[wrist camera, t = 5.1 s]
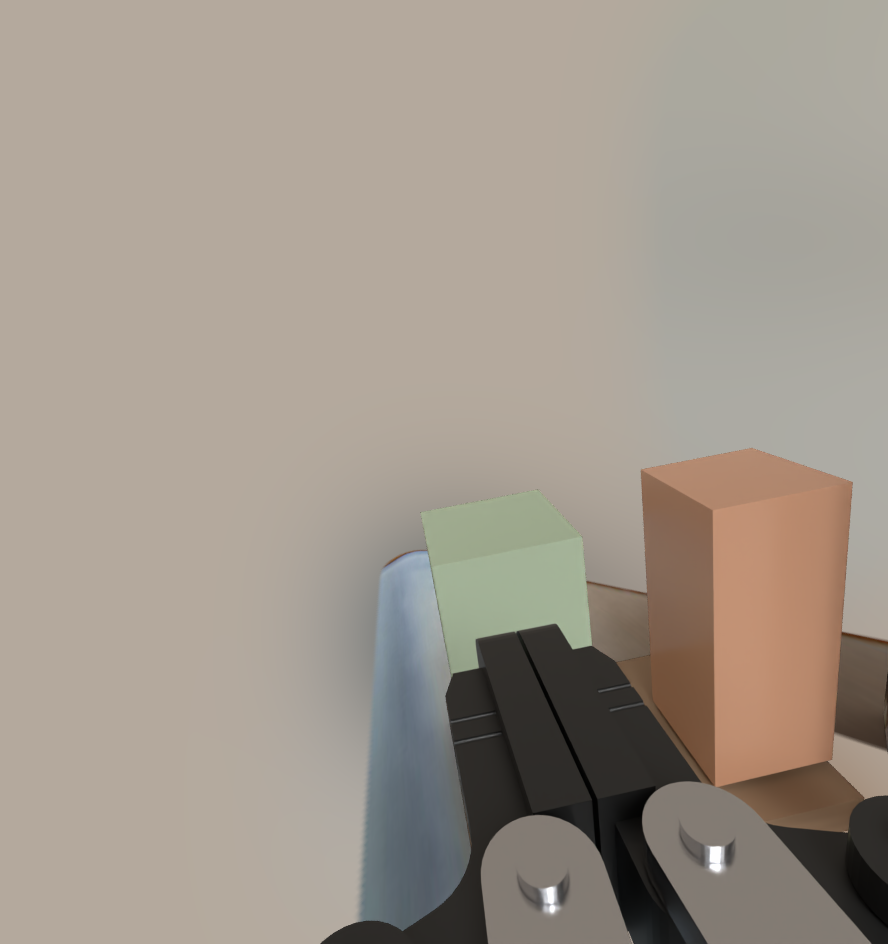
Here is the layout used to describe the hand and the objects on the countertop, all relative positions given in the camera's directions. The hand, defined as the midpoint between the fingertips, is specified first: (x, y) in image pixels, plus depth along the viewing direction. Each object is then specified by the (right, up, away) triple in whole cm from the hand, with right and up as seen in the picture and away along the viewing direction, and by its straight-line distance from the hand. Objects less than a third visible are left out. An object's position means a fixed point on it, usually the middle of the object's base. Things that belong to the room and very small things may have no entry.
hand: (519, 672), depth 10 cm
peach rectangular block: (+12, -8, +14) cm, 20 cm away
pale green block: (+2, -10, +13) cm, 16 cm away
